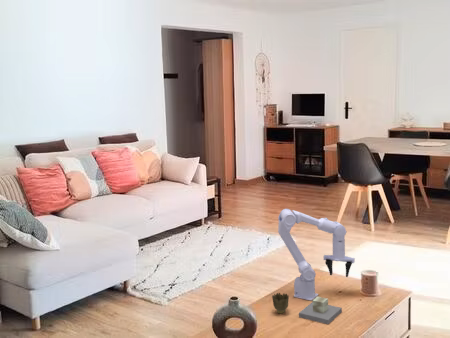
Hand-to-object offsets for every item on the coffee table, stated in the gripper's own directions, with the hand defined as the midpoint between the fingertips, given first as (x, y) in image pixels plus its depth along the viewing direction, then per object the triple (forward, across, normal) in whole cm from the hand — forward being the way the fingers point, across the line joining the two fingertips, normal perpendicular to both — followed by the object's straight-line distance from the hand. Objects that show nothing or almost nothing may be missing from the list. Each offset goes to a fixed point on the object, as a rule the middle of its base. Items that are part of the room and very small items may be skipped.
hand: (339, 275), depth 250 cm
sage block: (+7, -2, -25) cm, 26 cm away
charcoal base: (+9, -2, -25) cm, 27 cm away
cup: (+10, -19, -29) cm, 36 cm away
